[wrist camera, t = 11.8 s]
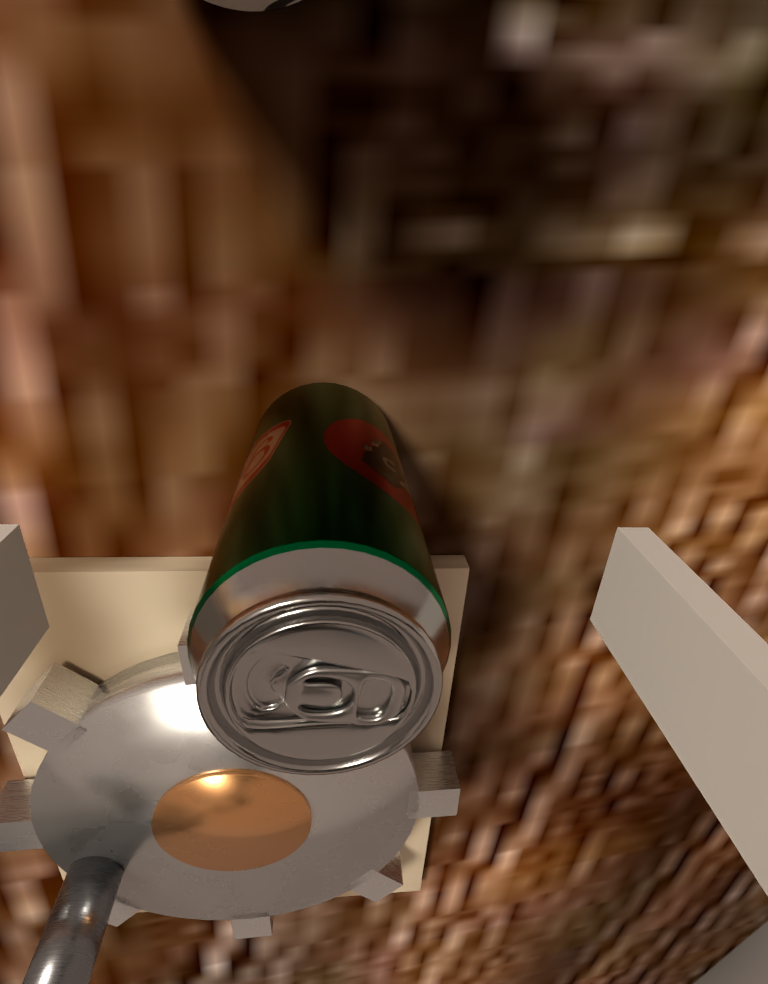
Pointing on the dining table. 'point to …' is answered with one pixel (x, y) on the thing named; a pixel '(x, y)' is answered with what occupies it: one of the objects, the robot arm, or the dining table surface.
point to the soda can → (320, 596)
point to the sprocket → (192, 814)
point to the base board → (173, 641)
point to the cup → (253, 4)
